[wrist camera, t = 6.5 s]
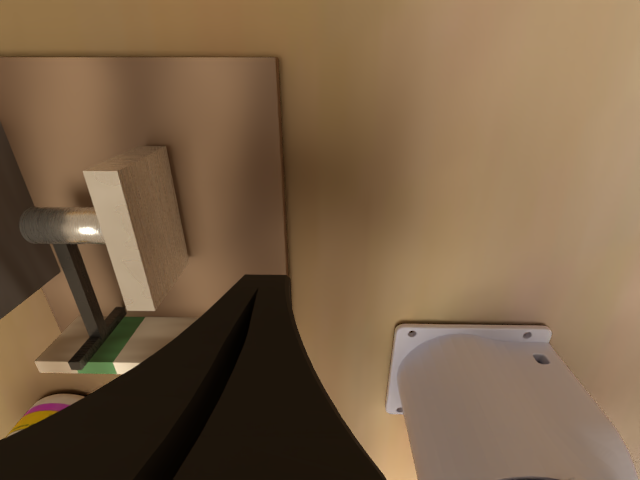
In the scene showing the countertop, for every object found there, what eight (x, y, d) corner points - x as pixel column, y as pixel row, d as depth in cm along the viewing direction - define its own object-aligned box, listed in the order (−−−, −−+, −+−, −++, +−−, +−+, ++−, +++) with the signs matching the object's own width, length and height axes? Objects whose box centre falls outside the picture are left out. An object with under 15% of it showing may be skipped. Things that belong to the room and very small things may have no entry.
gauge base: (278, 57, 15) (243, 53, 9) (291, 325, 22) (276, 430, 16) (-39, 57, 15) (-291, 53, 9) (72, 322, 22) (-28, 424, 16)
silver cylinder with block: (166, 145, 15) (117, 171, 12) (200, 314, 20) (171, 371, 16) (45, 145, 16) (-42, 170, 12) (105, 313, 20) (55, 369, 16)
